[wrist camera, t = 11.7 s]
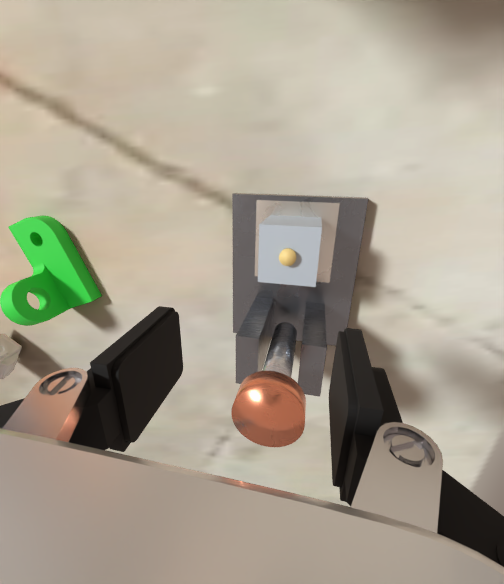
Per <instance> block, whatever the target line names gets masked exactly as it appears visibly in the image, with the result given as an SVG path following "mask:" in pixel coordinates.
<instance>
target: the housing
mask: <svg viewBox="0 0 504 584" xmlns="http://www.w3.org/2000/svg"><path fill="white" fill-rule="evenodd" d="M321 232H322V220H321V217H299V216H277V215H270V216H269V217H268V218H266V219H265V220H264V221H263V222H262V223H260V224H259V254H258V282H264V283H275V284H287V285H298V286H309V287H316V279H317V269H318V260H319V251H320V241H321Z"/></svg>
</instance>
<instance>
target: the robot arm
mask: <svg viewBox="0 0 504 584" xmlns="http://www.w3.org/2000/svg"><path fill="white" fill-rule="evenodd" d="M90 365H91V369H89V370H88V371H87V372H86V371H84V370H83V369H79V368H68V369H62V370H59V371H56V372H53V373H51V374H49V375H47V376H45V377H44V378H42V379H41V380H39V381H38V382H37V383H36V384H35V386H34V387H33V388H32V390H31V391H30V392H29V394H28V395H27V396H26V398H24V399H21V400H18V401H15V402H11V403H8V404H5V405H1V406H0V584H504V516H502V515H501V514H500V513H498V512H497V511H496V510H495V509H493V508H492V507H491V506H489V505H488V504H487V503H485V502H484V501H483V500H481V499H480V498H479V497H477V496H476V495H475V494H473V493H472V492H471V491H470V490H468V489H467V488H466V487H464V486H463V485H462V484H460V483H459V482H458V481H457V480H455V479H454V478H453V477H451V476H450V475H449V474H447V473H446V472H445V471H443V470H442V467H443V459H442V453H441V451H440V449H439V448H438V446H437V444H436V443H435V442H434V441H433V440H432V439H431V438H430V437H429V436H428V435H426V434H425V433H424V432H422V431H421V430H419V429H417V428H415V427H413V426H410V425H407V424H404V423H403V422H402V419H401V416H400V413H399V410H398V408H397V405H396V402H395V399H394V396H393V393H392V390H391V387H390V384H389V381H388V378H387V375H386V372H385V370H384V369H382V368H375V367H371V363H370V360H369V356H368V352H367V349H366V345H365V342H364V338H363V334H362V331H361V330H359V329H350V328H345V329H344V332H342V331H339V332H338V337H337V343H336V350H335V357H334V363H333V370H332V376H331V383H330V390H329V413H330V435H331V457H332V479H333V486H337V487H340V500H341V501H345V502H347V503H348V504H349V505H350V506H351V507H347V506H343V505H339V504H335V503H331V502H327V501H323V500H319V499H315V498H311V497H307V496H302V495H298V494H294V493H290V492H285V491H281V490H277V489H272V488H268V487H264V486H259V485H255V484H251V483H246V482H242V481H238V480H234V479H229V478H225V477H221V476H216V475H212V474H207V473H203V472H199V471H194V470H190V469H185V468H181V467H177V466H172V465H168V464H163V463H159V462H154V461H150V460H146V459H141V458H137V457H132V456H128V455H123V454H119V453H114V452H110V451H105V450H106V449H108V448H110V449H113V450H117V451H122V452H124V451H125V450H126V449H127V447H128V446H129V444H130V443H131V442H135V441H136V440H137V439H138V437H139V436H140V434H141V433H142V431H143V430H144V428H145V427H146V426H147V424H148V423H149V421H150V420H151V418H152V417H153V415H154V414H155V413H156V411H157V410H158V408H159V407H160V405H161V404H162V402H163V401H164V399H165V398H166V397H167V395H168V394H169V392H170V391H171V389H172V388H173V386H174V385H175V383H176V382H177V381H178V379H179V378H180V376H181V374H182V371H183V360H182V348H181V336H180V324H179V314H178V312H175V310H174V309H173V308H169V307H160V306H159V307H157V308H156V309H155V310H154V311H153V312H151V313H150V314H149V315H148V316H146V317H145V318H144V319H143V320H142V321H140V322H139V323H138V324H137V325H135V326H134V327H133V328H132V329H131V330H129V331H128V332H127V333H126V334H124V335H123V336H122V337H121V338H120V339H118V340H117V341H116V342H115V343H113V344H112V345H111V346H110V347H109V348H107V349H106V350H105V351H104V352H102V353H101V354H100V355H99V356H98V357H96V358H95V359H94V360H93V361H91V362H90Z"/></svg>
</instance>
